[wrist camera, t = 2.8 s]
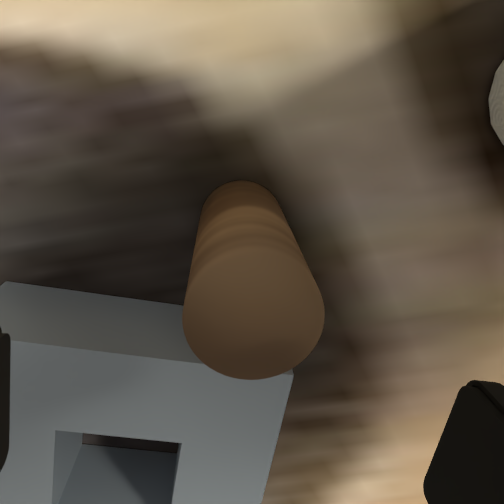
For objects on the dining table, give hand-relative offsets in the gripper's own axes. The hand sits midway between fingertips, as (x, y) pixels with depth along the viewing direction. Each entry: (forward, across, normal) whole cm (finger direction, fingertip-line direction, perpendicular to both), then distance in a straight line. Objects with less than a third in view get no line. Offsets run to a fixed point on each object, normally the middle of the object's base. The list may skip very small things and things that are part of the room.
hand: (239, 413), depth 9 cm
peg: (+14, -1, 0) cm, 14 cm away
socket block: (+14, +3, +12) cm, 18 cm away
